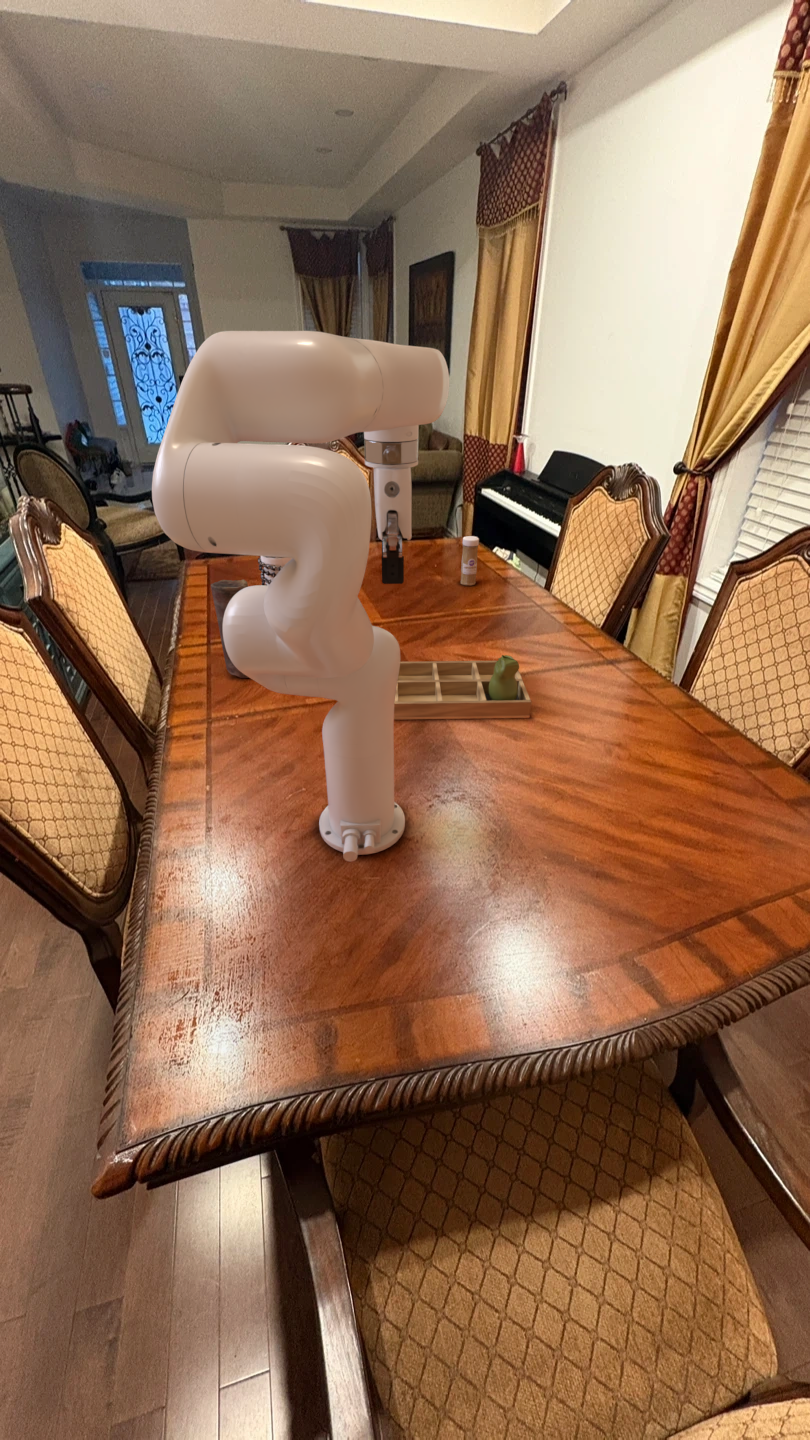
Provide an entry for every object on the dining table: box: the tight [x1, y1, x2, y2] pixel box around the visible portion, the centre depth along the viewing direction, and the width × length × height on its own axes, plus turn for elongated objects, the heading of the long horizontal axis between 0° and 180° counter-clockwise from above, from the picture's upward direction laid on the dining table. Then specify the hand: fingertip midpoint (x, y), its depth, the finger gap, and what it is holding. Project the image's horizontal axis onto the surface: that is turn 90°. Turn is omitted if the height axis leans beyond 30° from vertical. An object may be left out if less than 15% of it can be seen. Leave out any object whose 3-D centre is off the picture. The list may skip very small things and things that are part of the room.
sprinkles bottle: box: [459, 535, 480, 587], centre depth 175 cm, size 5×5×14 cm
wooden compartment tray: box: [394, 660, 532, 721], centre depth 121 cm, size 17×26×4 cm
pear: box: [489, 654, 520, 700], centre depth 116 cm, size 6×5×10 cm
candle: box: [210, 579, 249, 679], centre depth 126 cm, size 8×7×20 cm
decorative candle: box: [257, 556, 292, 586], centre depth 139 cm, size 9×9×25 cm
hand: (392, 572), depth 94 cm, fingers open, 9 cm apart
